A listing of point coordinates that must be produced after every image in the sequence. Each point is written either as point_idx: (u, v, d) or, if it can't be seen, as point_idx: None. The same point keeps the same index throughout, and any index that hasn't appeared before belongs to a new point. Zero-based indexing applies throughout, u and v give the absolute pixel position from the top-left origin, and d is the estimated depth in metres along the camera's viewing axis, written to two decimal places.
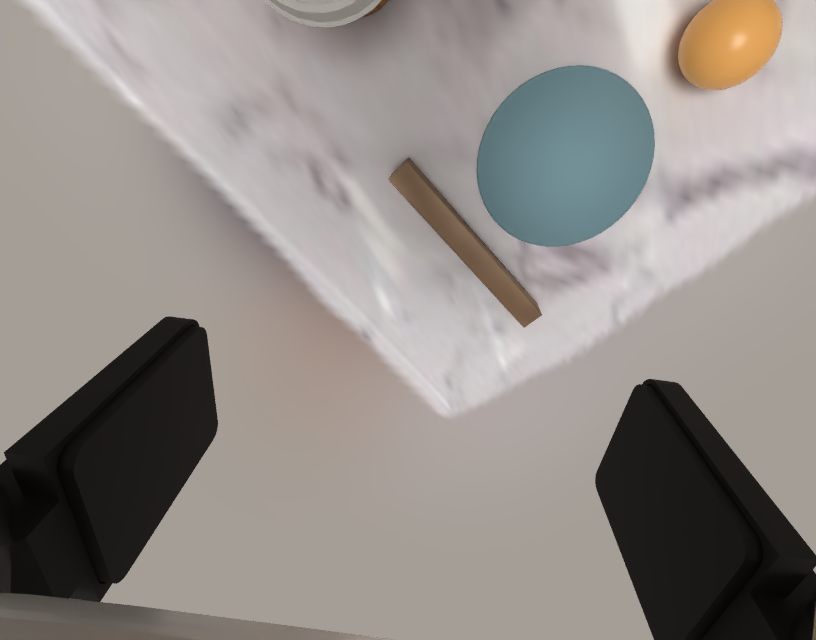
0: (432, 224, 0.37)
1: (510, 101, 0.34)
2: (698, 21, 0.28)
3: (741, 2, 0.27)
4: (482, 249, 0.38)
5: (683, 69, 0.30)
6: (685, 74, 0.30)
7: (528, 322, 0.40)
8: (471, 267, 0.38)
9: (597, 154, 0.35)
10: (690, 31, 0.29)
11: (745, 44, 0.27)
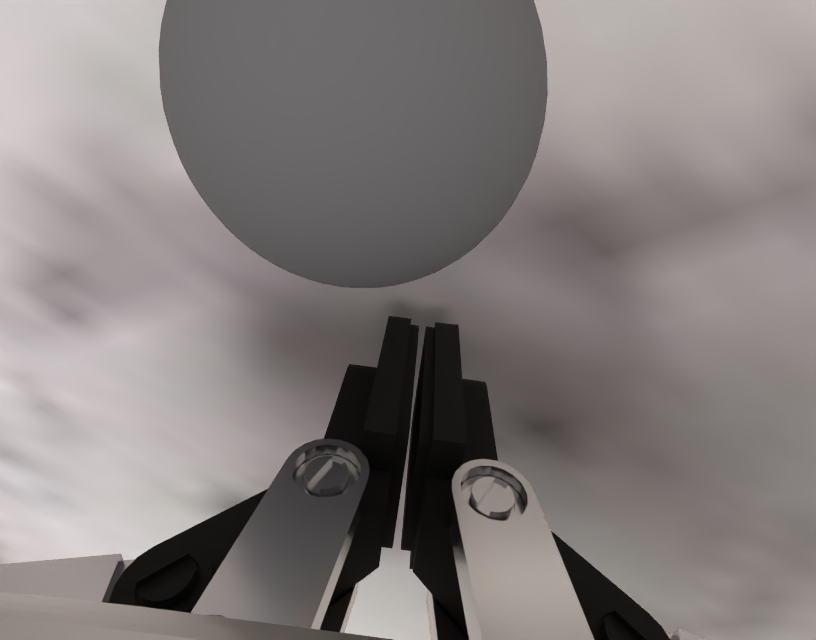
0: None
1: None
2: None
3: None
4: None
5: None
6: None
7: None
8: None
9: None
10: None
11: None
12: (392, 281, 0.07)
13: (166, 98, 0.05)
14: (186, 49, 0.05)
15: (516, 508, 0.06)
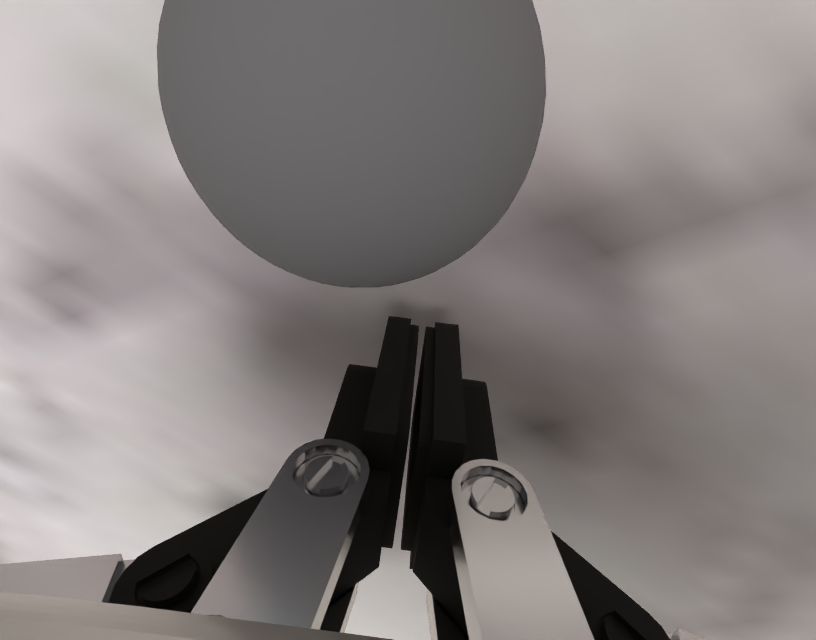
0: None
1: None
2: None
3: None
4: None
5: None
6: None
7: None
8: None
9: None
10: None
11: None
12: (390, 281, 0.07)
13: (164, 97, 0.05)
14: (183, 48, 0.05)
15: (516, 508, 0.06)
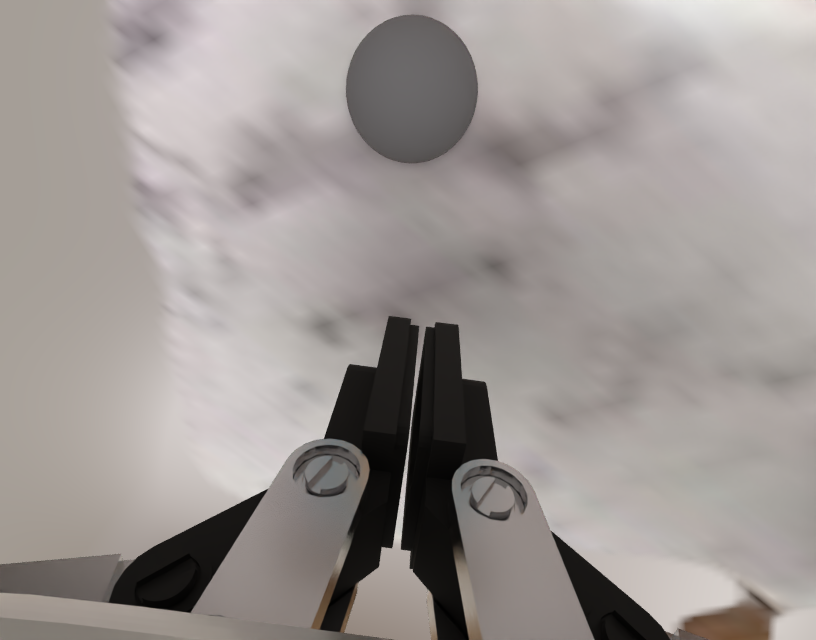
0: None
1: None
2: None
3: None
4: None
5: None
6: None
7: None
8: None
9: None
10: None
11: None
12: (423, 154, 0.19)
13: (355, 88, 0.17)
14: (367, 74, 0.17)
15: (516, 508, 0.06)
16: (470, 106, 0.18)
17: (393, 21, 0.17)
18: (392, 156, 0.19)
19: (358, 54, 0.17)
